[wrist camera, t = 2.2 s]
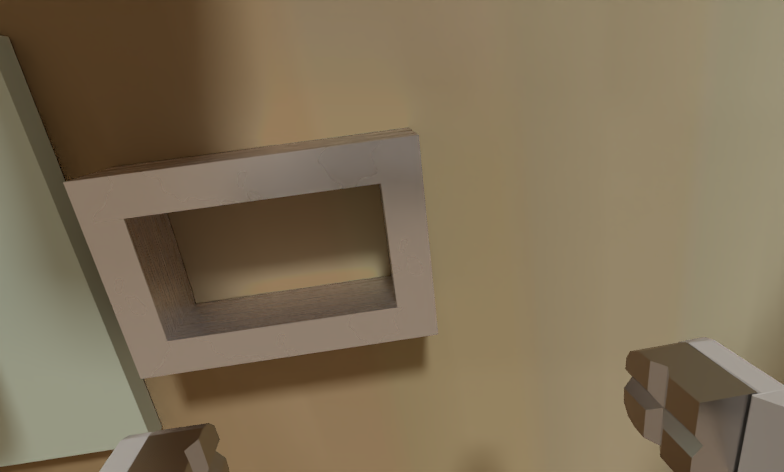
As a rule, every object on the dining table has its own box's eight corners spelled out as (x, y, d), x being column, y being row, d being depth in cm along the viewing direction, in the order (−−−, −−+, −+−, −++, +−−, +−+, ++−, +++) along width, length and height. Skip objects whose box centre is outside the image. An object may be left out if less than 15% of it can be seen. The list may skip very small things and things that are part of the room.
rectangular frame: (408, 127, 17) (418, 134, 14) (426, 299, 20) (438, 334, 17) (112, 166, 17) (62, 182, 14) (172, 337, 19) (140, 378, 16)
